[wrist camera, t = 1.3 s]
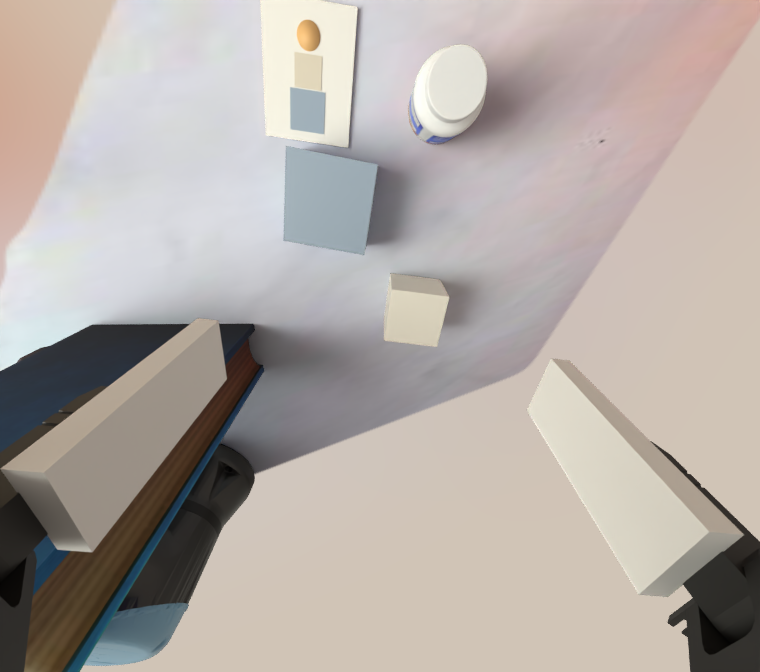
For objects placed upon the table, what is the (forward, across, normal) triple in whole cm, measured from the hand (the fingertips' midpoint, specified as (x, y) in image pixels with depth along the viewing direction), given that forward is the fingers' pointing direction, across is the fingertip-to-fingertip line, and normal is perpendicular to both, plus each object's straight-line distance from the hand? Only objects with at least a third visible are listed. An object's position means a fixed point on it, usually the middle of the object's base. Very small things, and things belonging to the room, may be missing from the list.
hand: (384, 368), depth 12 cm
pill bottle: (+25, -3, -13) cm, 28 cm away
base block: (+25, +6, -4) cm, 26 cm away
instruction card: (+25, +9, -14) cm, 30 cm away
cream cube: (+25, -4, +6) cm, 26 cm away
